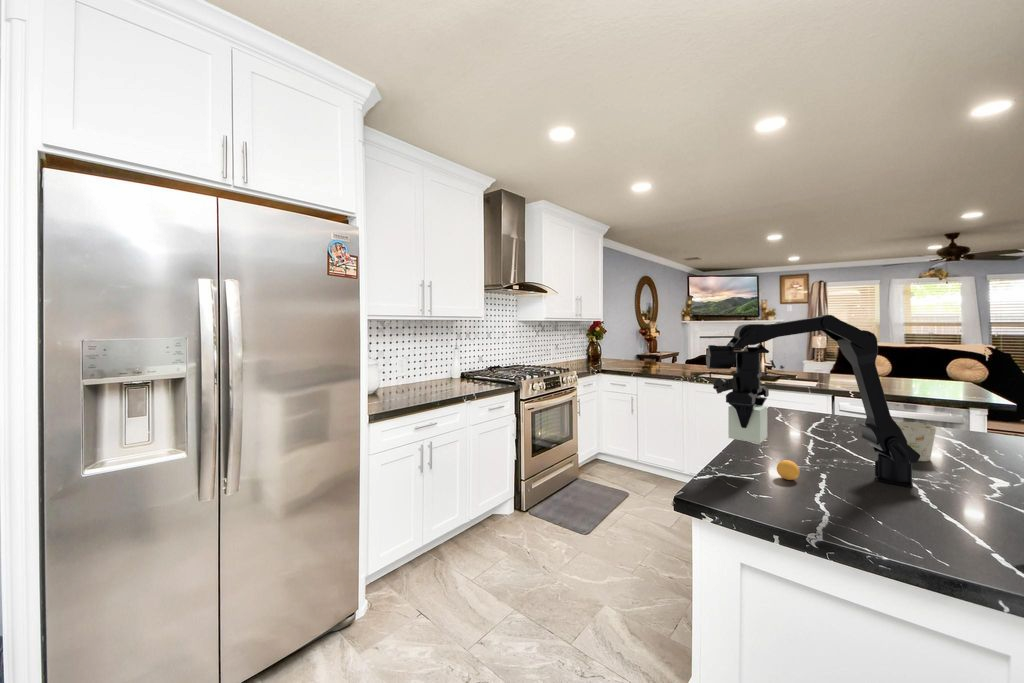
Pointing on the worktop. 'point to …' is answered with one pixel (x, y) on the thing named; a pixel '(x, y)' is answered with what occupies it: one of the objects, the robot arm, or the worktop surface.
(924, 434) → the mug
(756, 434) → the pale green block
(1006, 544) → the worktop surface
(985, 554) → the worktop surface
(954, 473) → the worktop surface
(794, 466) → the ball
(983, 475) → the worktop surface
